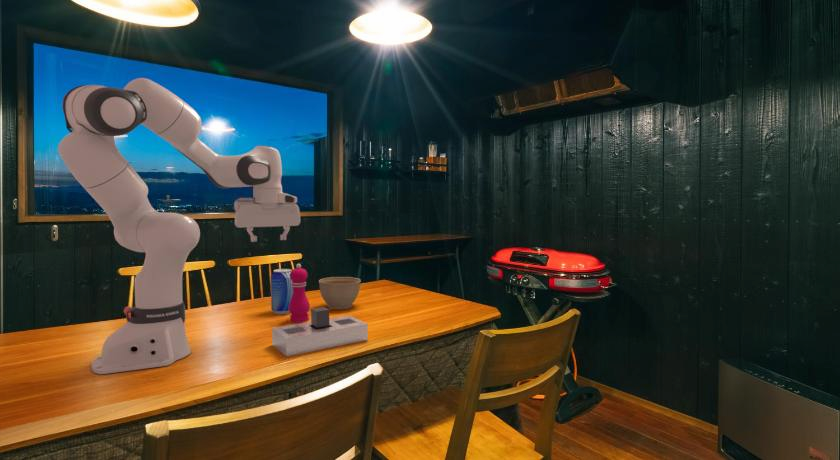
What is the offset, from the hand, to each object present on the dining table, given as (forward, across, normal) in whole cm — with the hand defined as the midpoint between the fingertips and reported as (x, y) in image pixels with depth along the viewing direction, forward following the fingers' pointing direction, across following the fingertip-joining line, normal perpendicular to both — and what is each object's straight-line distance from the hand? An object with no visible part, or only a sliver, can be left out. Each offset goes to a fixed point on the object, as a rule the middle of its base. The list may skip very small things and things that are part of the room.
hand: (268, 240), depth 146 cm
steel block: (+29, +8, -22) cm, 37 cm away
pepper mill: (+29, +12, +6) cm, 32 cm away
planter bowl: (+29, +32, +15) cm, 46 cm away
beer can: (+29, +11, +20) cm, 37 cm away
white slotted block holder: (+29, +8, -22) cm, 37 cm away
